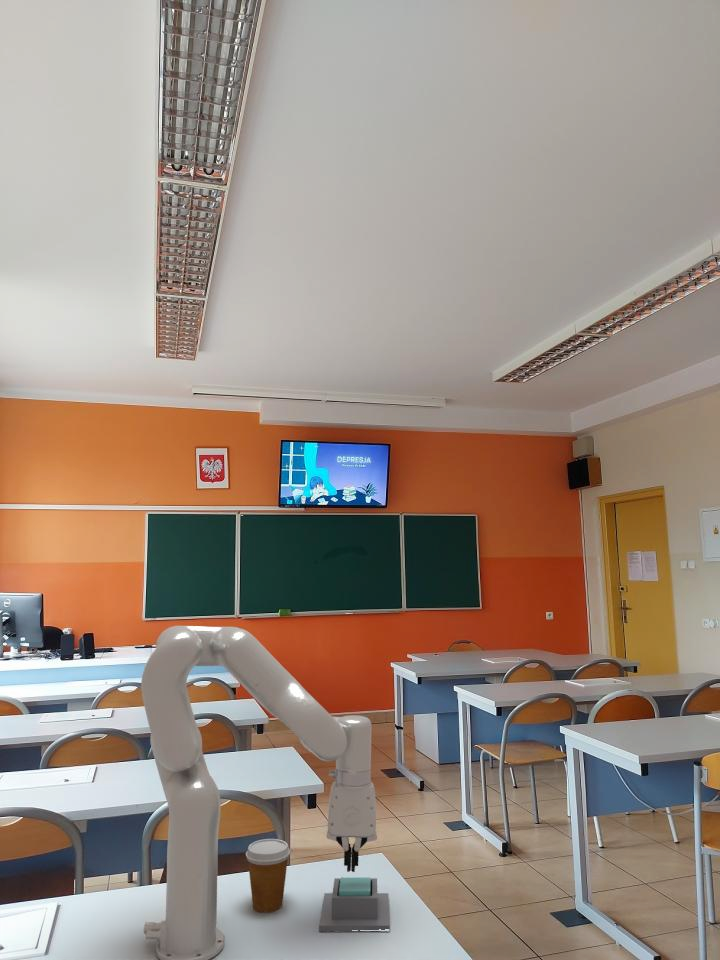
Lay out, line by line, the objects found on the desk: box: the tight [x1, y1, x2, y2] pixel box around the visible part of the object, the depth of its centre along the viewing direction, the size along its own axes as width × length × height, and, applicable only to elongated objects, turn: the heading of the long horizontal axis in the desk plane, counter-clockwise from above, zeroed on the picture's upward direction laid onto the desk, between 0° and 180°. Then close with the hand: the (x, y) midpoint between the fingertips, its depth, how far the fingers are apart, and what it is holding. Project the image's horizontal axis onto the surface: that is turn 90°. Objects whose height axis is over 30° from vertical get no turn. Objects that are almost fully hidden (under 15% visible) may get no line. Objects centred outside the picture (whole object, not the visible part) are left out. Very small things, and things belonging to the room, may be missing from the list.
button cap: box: [339, 877, 371, 896], centre depth 142 cm, size 6×6×4 cm
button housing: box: [318, 877, 391, 933], centre depth 142 cm, size 14×14×5 cm
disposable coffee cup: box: [245, 838, 291, 914], centre depth 147 cm, size 10×10×12 cm
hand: (351, 869), depth 143 cm, fingers closed
